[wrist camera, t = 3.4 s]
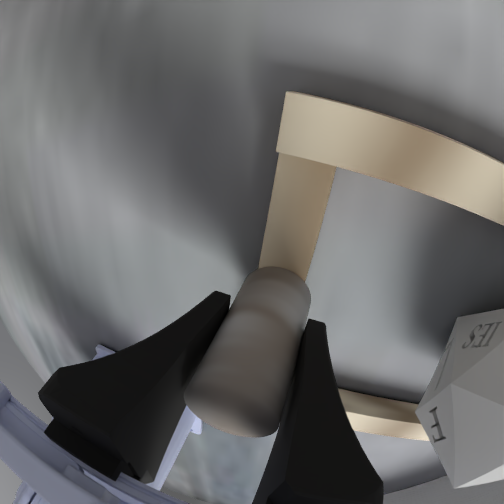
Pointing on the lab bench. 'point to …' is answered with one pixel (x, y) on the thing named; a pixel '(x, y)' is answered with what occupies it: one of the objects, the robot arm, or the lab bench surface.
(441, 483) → the long grey block
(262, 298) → the tan frame
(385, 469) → the lab bench surface
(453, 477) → the die
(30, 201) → the lab bench surface
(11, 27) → the lab bench surface
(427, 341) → the lab bench surface
